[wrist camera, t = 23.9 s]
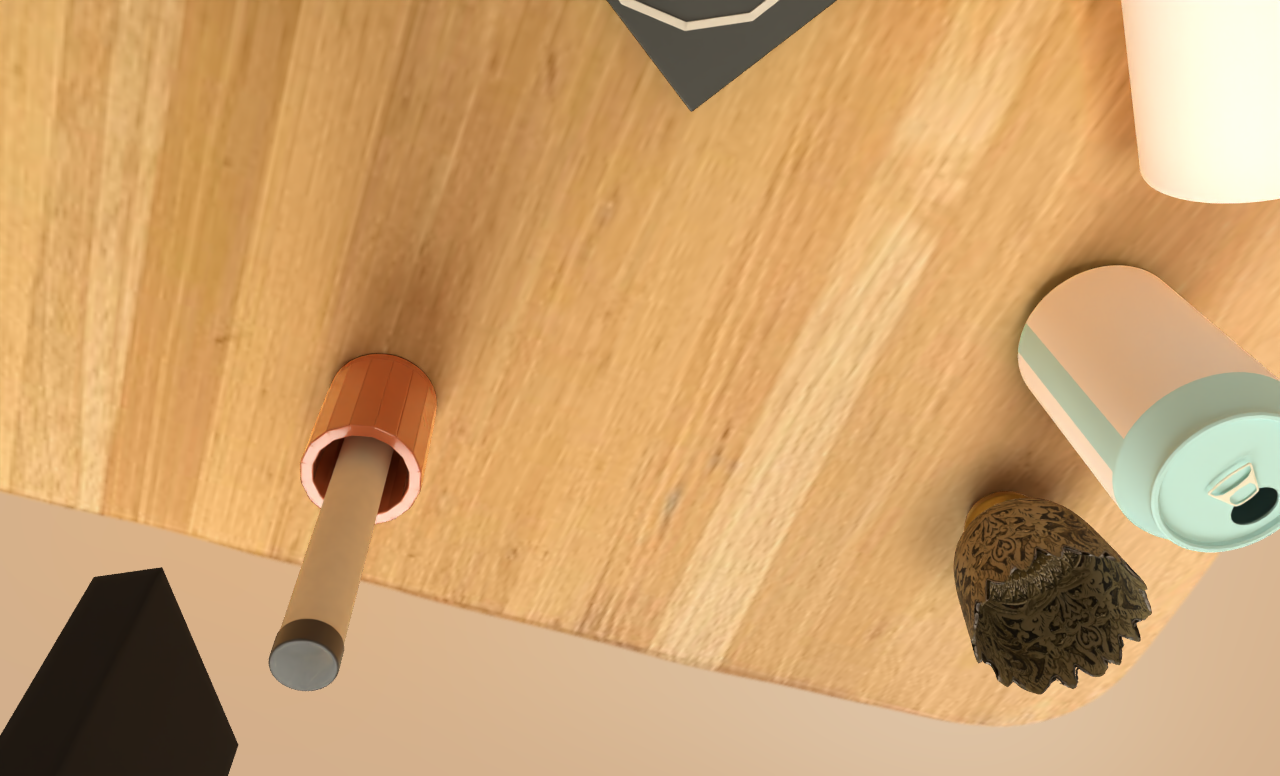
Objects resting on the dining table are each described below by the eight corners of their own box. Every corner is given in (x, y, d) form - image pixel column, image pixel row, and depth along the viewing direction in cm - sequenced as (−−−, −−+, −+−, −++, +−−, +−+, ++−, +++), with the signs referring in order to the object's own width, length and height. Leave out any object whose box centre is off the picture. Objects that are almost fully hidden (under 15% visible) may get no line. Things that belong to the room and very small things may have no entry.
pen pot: (306, 394, 48) (274, 470, 43) (385, 333, 47) (362, 403, 42) (381, 463, 50) (359, 544, 45) (459, 406, 49) (445, 483, 43)
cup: (1103, 517, 54) (1184, 628, 47) (977, 602, 56) (1036, 721, 49) (1019, 422, 51) (1092, 525, 44) (890, 515, 53) (939, 628, 46)
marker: (345, 403, 48) (253, 663, 34) (381, 375, 47) (303, 628, 33) (379, 435, 49) (304, 702, 35) (415, 409, 48) (353, 669, 34)
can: (1196, 266, 47) (1375, 406, 37) (1141, 409, 51) (1291, 574, 40) (1038, 251, 47) (1176, 389, 36) (993, 397, 50) (1107, 562, 39)
